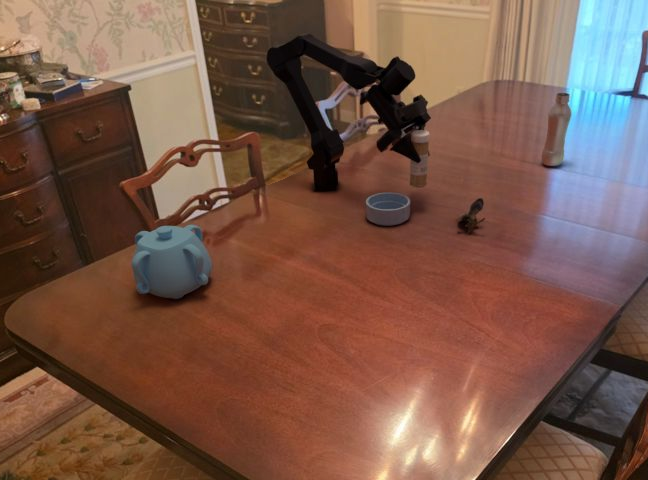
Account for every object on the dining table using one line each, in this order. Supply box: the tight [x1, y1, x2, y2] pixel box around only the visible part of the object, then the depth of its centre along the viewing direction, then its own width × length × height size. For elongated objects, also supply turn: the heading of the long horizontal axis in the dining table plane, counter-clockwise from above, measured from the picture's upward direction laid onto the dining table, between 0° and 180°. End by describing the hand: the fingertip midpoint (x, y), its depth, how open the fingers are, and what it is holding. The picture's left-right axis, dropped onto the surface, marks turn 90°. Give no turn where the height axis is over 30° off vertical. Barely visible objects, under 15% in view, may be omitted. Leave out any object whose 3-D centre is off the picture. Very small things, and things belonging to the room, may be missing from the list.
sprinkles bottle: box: [409, 129, 431, 189], centre depth 156 cm, size 5×5×14 cm
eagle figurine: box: [456, 197, 486, 235], centre depth 152 cm, size 8×7×9 cm
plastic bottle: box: [541, 92, 572, 167], centre depth 179 cm, size 6×7×20 cm
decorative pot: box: [131, 224, 213, 300], centre depth 131 cm, size 16×16×14 cm
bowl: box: [365, 192, 411, 227], centre depth 158 cm, size 11×11×4 cm
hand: (424, 159), depth 155 cm, fingers closed on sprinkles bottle, 4 cm apart
